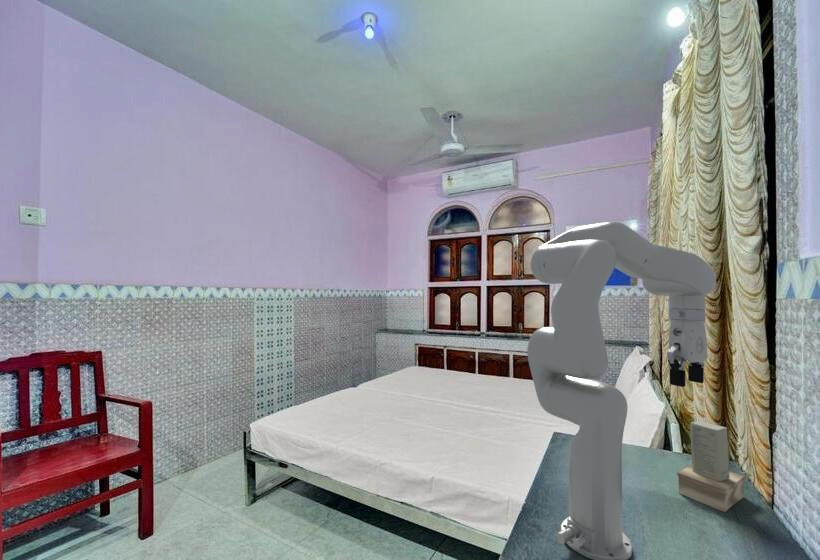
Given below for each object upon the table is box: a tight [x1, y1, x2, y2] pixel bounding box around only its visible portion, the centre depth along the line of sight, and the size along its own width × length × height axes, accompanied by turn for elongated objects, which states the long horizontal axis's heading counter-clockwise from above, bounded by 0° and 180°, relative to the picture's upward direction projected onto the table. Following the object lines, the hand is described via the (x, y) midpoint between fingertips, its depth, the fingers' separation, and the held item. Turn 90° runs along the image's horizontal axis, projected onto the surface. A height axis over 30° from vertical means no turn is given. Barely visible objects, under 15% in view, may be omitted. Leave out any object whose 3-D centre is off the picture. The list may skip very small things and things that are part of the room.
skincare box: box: [689, 419, 730, 481], centre depth 90 cm, size 6×4×12 cm
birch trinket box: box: [676, 464, 746, 513], centre depth 90 cm, size 12×9×5 cm
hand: (686, 383), depth 92 cm, fingers open, 9 cm apart
